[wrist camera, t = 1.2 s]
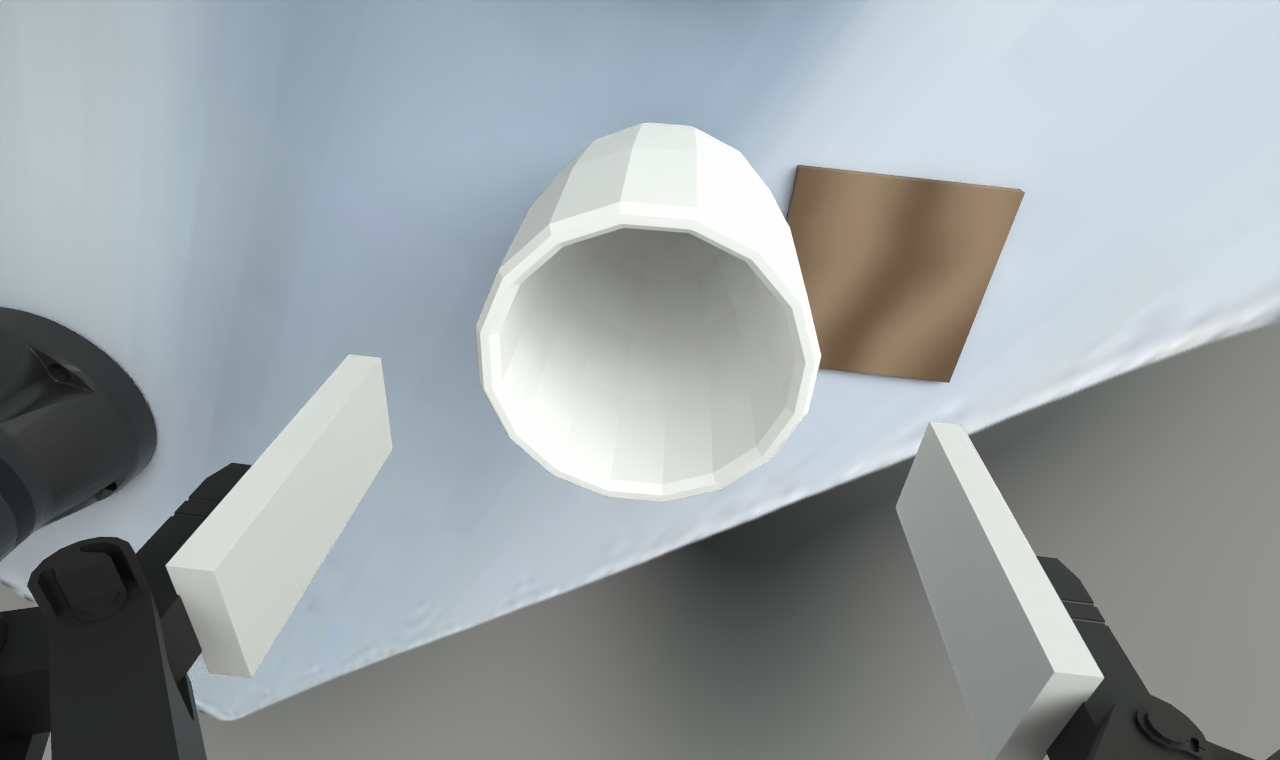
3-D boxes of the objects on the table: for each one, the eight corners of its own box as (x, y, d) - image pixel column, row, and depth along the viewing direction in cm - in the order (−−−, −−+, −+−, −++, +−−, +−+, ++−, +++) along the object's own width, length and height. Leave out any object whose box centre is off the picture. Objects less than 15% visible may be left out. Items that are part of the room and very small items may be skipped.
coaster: (757, 356, 43) (758, 361, 42) (798, 164, 37) (799, 167, 36) (946, 377, 43) (949, 382, 42) (1020, 189, 37) (1024, 192, 36)
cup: (632, 288, 41) (587, 554, 23) (535, 131, 37) (380, 307, 18) (793, 205, 38) (891, 440, 20) (708, 22, 33) (731, 105, 15)
